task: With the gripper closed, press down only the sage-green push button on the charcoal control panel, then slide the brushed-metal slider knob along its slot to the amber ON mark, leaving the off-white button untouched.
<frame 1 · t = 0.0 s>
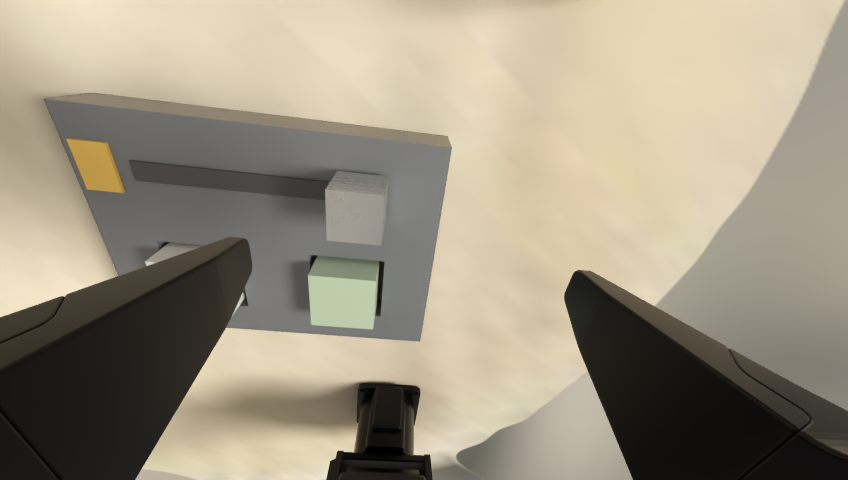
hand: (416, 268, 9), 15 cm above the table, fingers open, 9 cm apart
offwhite button: (200, 280, 23), point 4 cm above the table, slide at 0.0 cm
sage button: (345, 292, 23), point 4 cm above the table, slide at 0.0 cm
control panel: (288, 226, 25), on the table
slider knob: (358, 207, 18), point 5 cm above the table, slide at -6.0 cm
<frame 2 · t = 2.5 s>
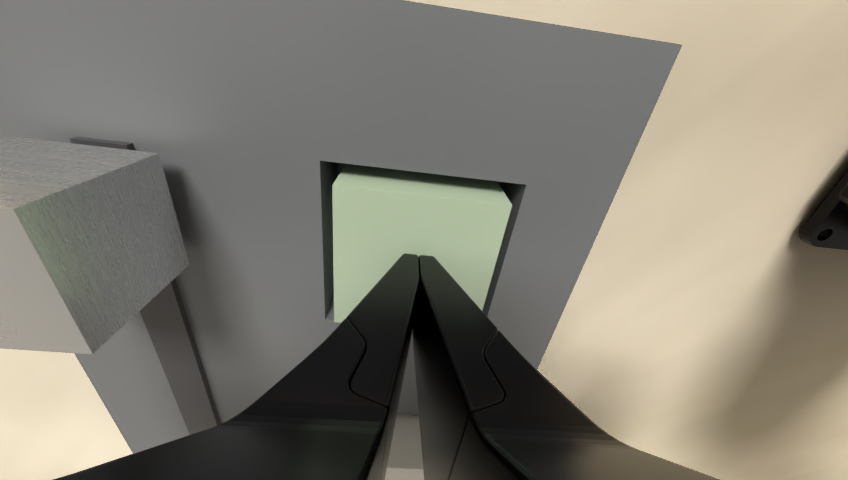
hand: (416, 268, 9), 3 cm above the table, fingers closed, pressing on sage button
offwhite button: (388, 462, 14), point 4 cm above the table, slide at 0.0 cm
sage button: (414, 246, 10), point 2 cm above the table, slide at 1.3 cm, touching control panel, gripper
control panel: (333, 310, 14), on the table
slider knob: (49, 237, 7), point 5 cm above the table, slide at -6.0 cm
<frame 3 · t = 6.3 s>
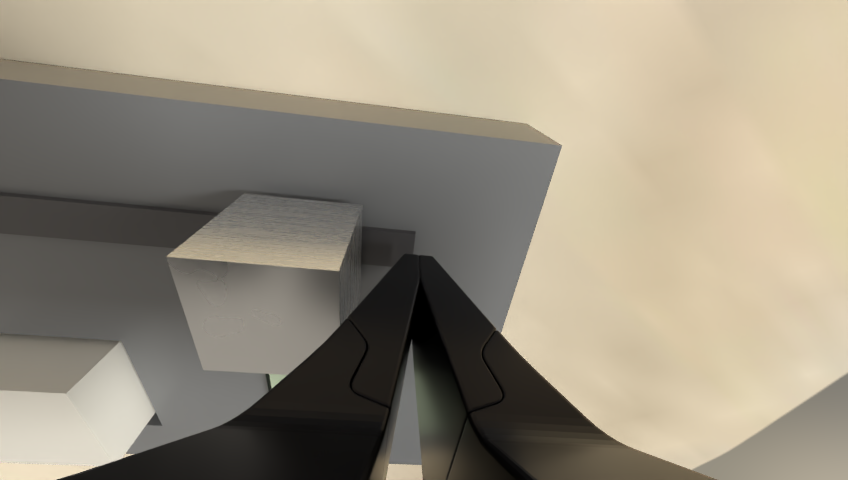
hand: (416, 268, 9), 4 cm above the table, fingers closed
offwhite button: (59, 396, 12), point 4 cm above the table, slide at 0.0 cm
sage button: (338, 381, 14), point 2 cm above the table, slide at 1.3 cm, touching control panel
control panel: (231, 285, 14), on the table
slider knob: (289, 280, 8), point 5 cm above the table, slide at -4.5 cm, touching gripper
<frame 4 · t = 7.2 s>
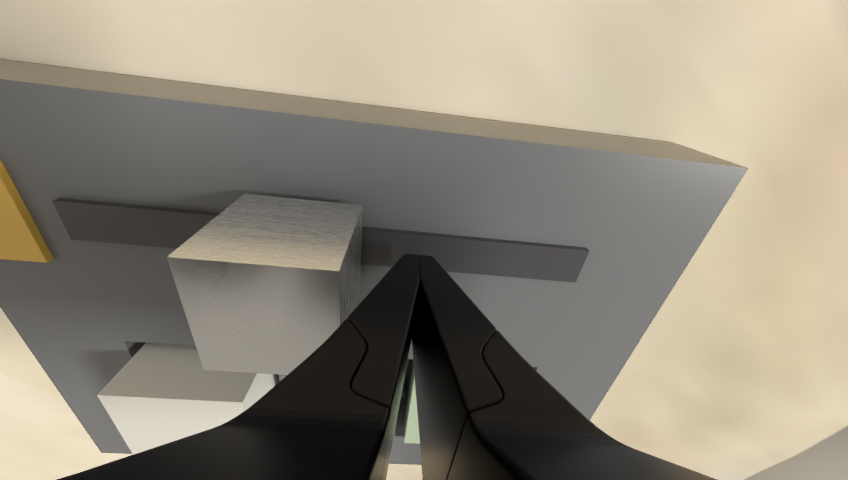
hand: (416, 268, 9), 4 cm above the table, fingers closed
offwhite button: (207, 404, 12), point 4 cm above the table, slide at 0.0 cm
sage button: (458, 388, 14), point 2 cm above the table, slide at 1.3 cm, touching control panel
control panel: (354, 294, 14), on the table
slider knob: (289, 280, 8), point 5 cm above the table, slide at 0.8 cm, touching gripper
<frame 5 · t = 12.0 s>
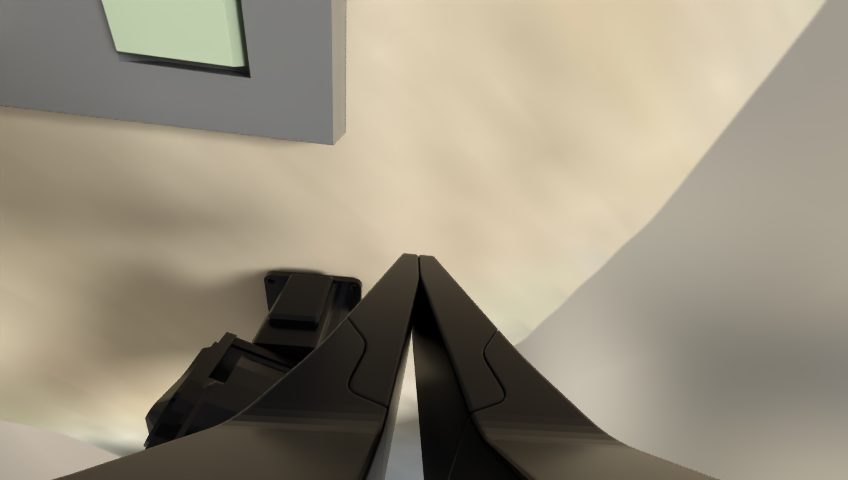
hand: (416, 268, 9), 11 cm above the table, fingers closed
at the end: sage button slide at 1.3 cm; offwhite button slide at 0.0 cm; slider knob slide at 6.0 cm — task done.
